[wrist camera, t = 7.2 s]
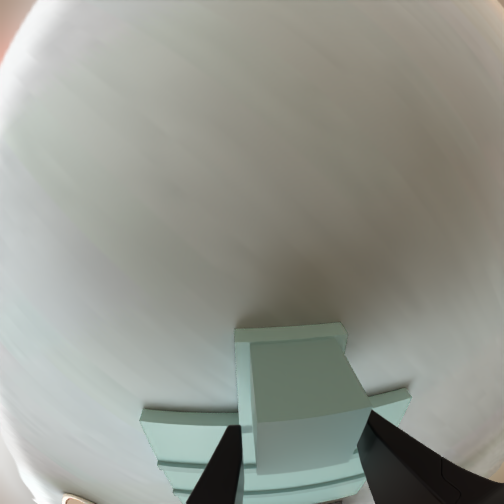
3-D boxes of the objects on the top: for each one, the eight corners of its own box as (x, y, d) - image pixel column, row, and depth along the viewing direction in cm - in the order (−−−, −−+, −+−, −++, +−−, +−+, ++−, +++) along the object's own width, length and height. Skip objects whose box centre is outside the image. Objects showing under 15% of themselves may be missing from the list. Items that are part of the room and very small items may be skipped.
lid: (428, 308, 11) (490, 363, 6) (353, 485, 15) (367, 526, 11) (119, 325, 10) (71, 404, 6) (186, 499, 14) (183, 544, 10)
